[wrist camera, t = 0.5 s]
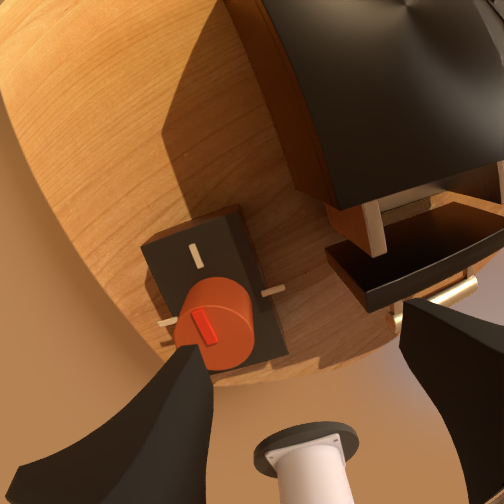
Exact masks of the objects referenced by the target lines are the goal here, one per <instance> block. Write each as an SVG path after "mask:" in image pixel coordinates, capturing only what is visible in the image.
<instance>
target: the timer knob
mask: <svg viewBox="0 0 504 504" xmlns="http://www.w3.org/2000/svg"><path fill="white" fill-rule="evenodd" d="M174 341H175V344H176V347H177V349H178V348H179V347H180V346H183V345H192V344H198V346H199V349H200V352H201V354H202V357H203V360H204V363H205V366H206V368H207V369H208V370H226V369H230V368H233V367H236V366H238V365H239V364H241V363H242V362H244V361H245V360H246V359H247V358H248V356H249V355H250V354H251V352H252V350H253V347H254V325H253V311H252V302H251V299H250V296H249V294H248V293H247V291H246V290H245V289H244V288H243V287H242V286H241V285H240V284H238V283H237V282H235V281H233V280H231V279H228V278H223V277H210V278H206V279H203V280H201V281H199V282H198V283H196V284H195V285H194V286H193V287H192V288H191V289H190V290H189V292H188V294H187V296H186V299H185V301H184V304H183V307H182V309H181V312H180V314H179V317H178V320H177V322H176V325H175V328H174Z"/></svg>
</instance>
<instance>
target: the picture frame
mask: <svg viewBox="0 0 504 504" xmlns="http://www.w3.org/2000/svg"><path fill="white" fill-rule="evenodd" d="M473 1H474V3H475V4H476V6H477V8H478V10H479V12H480V13H481V15H482V17H483V19H484V21H485V23H486V25H487V27H488V29H489V31H490V33H491V36H492V38H493V40H494V42H495V45H496V47H497V49H498V52H499V54H500V57H501V59H502V62H503V64H504V0H473Z"/></svg>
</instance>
